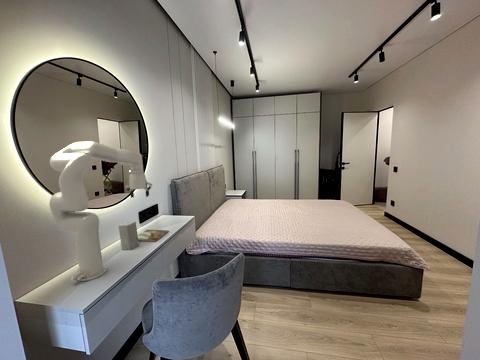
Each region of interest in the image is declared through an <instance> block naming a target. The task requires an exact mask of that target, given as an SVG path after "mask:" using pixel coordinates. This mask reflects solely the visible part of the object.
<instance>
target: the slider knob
mask: <svg viewBox="0 0 480 360" xmlns="http://www.w3.org/2000/svg"><path fill="white" fill-rule="evenodd" d="M150 234H151V239H155V238H157V237H158V236H157V231H152V232H151V233H150Z"/></svg>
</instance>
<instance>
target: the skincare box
mask: <svg viewBox="0 0 480 360" xmlns="http://www.w3.org/2000/svg"><path fill="white" fill-rule="evenodd" d="M118 231H119V237H120V238H119V239H120V244H121V250H123V251H124V250H126V251H132V250H133V249H134V248H135V247H138V246H139V244H140V242H138V235H139V233H138V229H137V222H136V221H127V222H123V223H122V224H119V225H118Z"/></svg>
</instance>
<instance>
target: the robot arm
mask: <svg viewBox="0 0 480 360" xmlns="http://www.w3.org/2000/svg"><path fill="white" fill-rule="evenodd" d="M91 159H92V160H93V159H94V160H99V161H103V162H108V163H118V164H119V165H121V166H130V170H129V171H128V173H130V174H129V181H128V183H127V184H126V185H124V187H125V189H126V190H127V191H128V192H129V196H130V197H131V199H132V198H134V197H135V193H134V190H143V189H144V190H145V197H146V198H148V197H149V195H150V190H151V188H152V187H153V184H152V183H151V182H148V180H147V176H146V173H144V164H143V155H142V154H141V153H139V152H137V151H134V150H130V149H123V148H119V147H113V146H110V145H106V144H104V143H101V142H96V141H91V140H90V141H85V140H84V141H76V142H73V143H71V144H68V145H67V146H66V147H64V148H62V149H61V150H59V151H58V152H55V153H54V154H53V155H52V156H51V157H50V160H49V165H50V167H51V168H52V169H53V170H55V171H57V172H60V175H59V179H58V187H59V189H60V191H58V192H56V193H54V194H52V196H51V197H50V199H49V204H48V205H49V209H50V211H51V214H52V217H53V220H54V222H55V224H56V226H57V228H58V229H59V230H61V231H62V232H67V233H70V232H71V233H77V235H76V237H75V241H74V244H75V245H74V246H75V249H76V256H77V262H78V263H77V264H78V270H76V271H77V273H76V274H75V275H73V276H71V277H70V278H69V280H70V282H74V281H75V280H77V281H79V282H86V281H87V282H88V281H91V280H95V279H97V278H100V277H101V276H103V275H104V274H105V273H106V272H107V271H108V266H107V265H105V264H104V262H103V256H102V248H101V241H100V235H99V229H100V228H99V227H100V217H99V216H98V215H97V214H96V213H94V212H91V211H86V210H87V209H88V208H89V206H90V200H89V197H88V195H87V191H86V188H85V185H84V181H83V180H84V179H83V178H84V175H85V173H86V171H87V169H88V168H90V165H91Z"/></svg>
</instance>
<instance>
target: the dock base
mask: <svg viewBox="0 0 480 360" xmlns="http://www.w3.org/2000/svg"><path fill="white" fill-rule="evenodd" d="M152 231H157V236H158V237H157V238H155V239H151V234H150V233H151V232H152ZM169 232H170V231H169V229H167V230H166V229H146V230H144V231H143V232H140V233H138V242H139V243H140V242H141V243H143V242H144V243H156V242H159V240H160V239H162V238H163V237H165V235H167V234H169Z"/></svg>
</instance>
